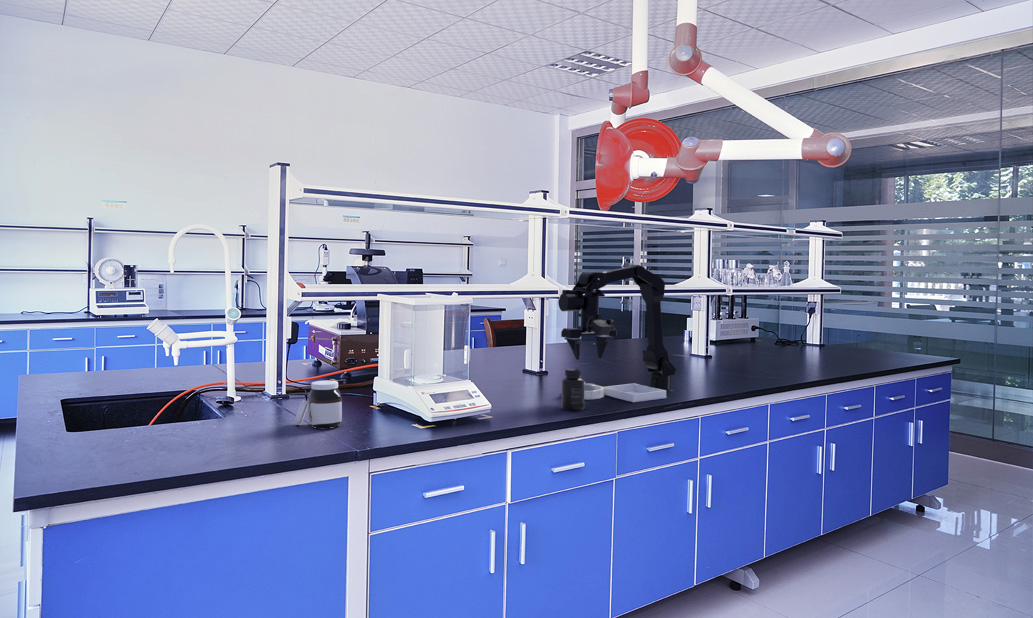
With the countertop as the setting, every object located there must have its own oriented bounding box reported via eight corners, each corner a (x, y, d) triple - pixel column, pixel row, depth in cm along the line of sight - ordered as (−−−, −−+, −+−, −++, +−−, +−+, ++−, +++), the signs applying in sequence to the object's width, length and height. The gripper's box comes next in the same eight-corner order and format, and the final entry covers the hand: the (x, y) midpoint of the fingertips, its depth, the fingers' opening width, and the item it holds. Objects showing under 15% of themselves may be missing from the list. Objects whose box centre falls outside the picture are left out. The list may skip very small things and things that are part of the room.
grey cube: (589, 394, 218) (589, 382, 218) (598, 397, 215) (598, 385, 214) (578, 396, 216) (579, 384, 216) (587, 398, 212) (587, 386, 212)
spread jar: (345, 428, 173) (345, 384, 172) (301, 434, 166) (301, 388, 166) (331, 419, 183) (331, 377, 182) (289, 424, 177) (288, 380, 176)
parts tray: (634, 392, 228) (634, 383, 228) (666, 399, 215) (666, 390, 215) (602, 395, 220) (602, 386, 220) (633, 404, 207) (633, 394, 207)
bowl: (586, 392, 227) (586, 382, 227) (611, 398, 216) (611, 388, 215) (554, 395, 220) (555, 386, 220) (579, 402, 209) (579, 392, 208)
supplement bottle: (586, 407, 201) (587, 368, 201) (581, 412, 195) (581, 371, 194) (564, 405, 204) (565, 367, 203) (558, 410, 197) (559, 370, 197)
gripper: (582, 313, 202) (581, 364, 203) (628, 311, 212) (627, 360, 213) (560, 310, 211) (559, 359, 212) (606, 309, 221) (605, 356, 222)
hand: (588, 358), depth 215 cm, fingers open, 9 cm apart
